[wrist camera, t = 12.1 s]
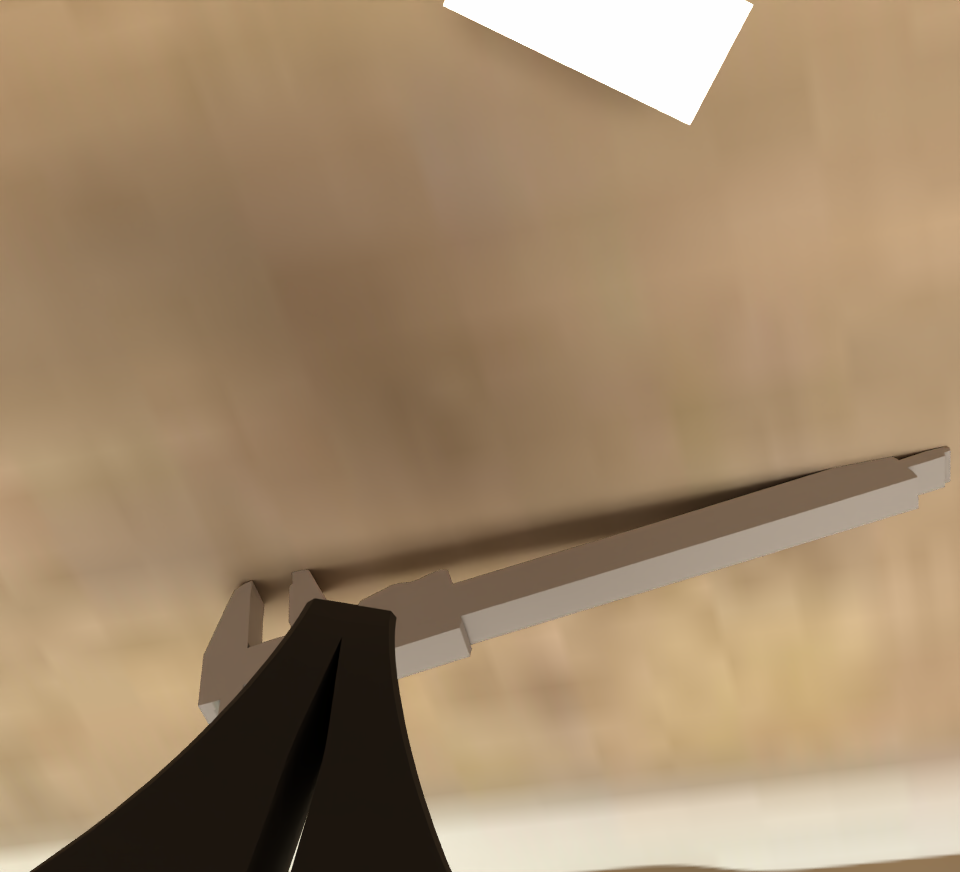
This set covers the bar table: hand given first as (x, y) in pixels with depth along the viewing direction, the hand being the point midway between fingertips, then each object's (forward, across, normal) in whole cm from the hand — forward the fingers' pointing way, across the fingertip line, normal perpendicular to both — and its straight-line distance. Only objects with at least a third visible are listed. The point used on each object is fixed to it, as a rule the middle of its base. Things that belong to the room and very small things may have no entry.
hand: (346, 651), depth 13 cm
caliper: (+10, -5, +4) cm, 12 cm away
